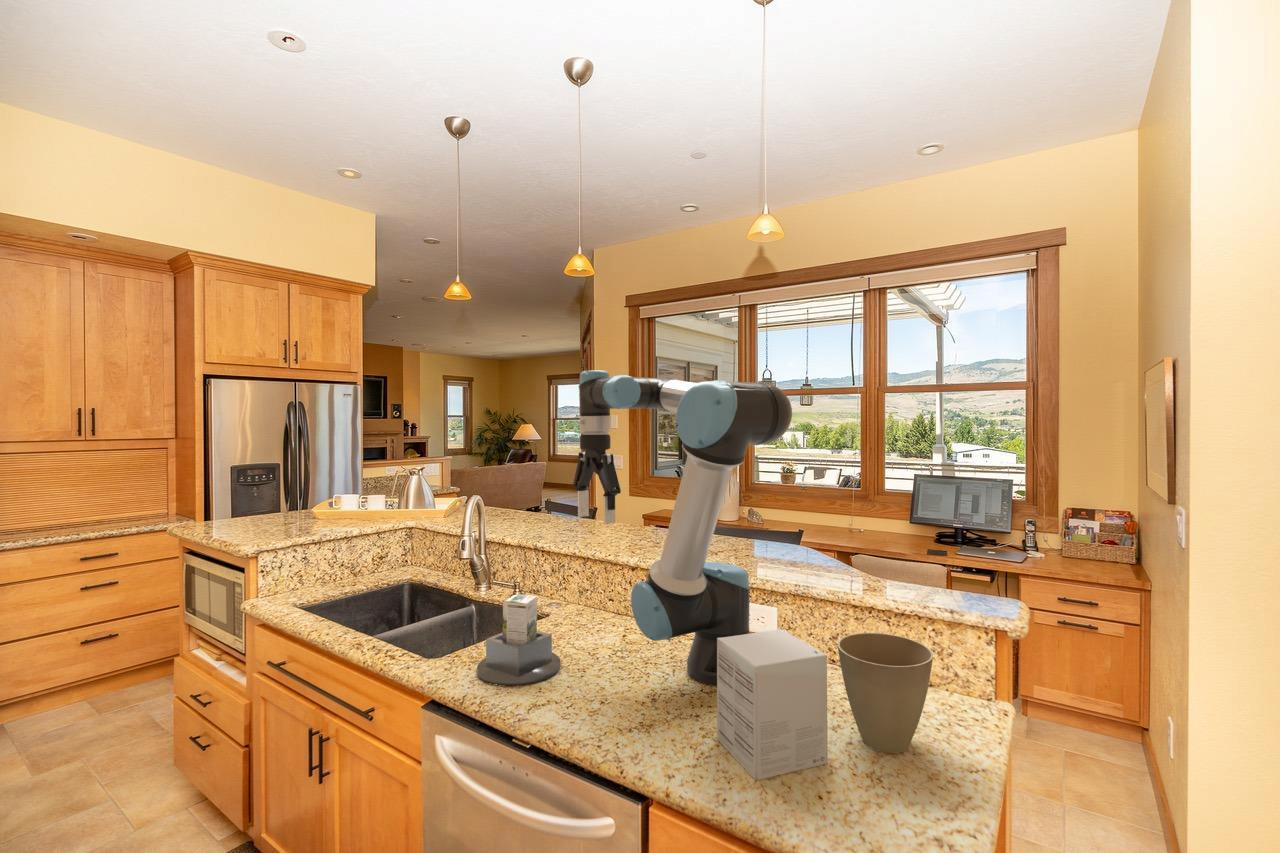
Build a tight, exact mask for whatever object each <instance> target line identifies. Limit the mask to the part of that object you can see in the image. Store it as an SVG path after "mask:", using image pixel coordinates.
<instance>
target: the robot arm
mask: <svg viewBox="0 0 1280 853" xmlns="http://www.w3.org/2000/svg"><path fill="white" fill-rule="evenodd" d="M578 389H579V390H578V391H579V392H578V393H579V394H578V396H579V398H578V399H579V420H578V424H579V431H580V432H581V433H582V434H580V436H579V449H580V450H582V451H583V452H578V459H577V460H578V461H577V464H576V465H577V466H576V470H575V473H574V474H575V475H574V479H573V482H572V486H573V488H576V491H577V517H579V518H580V517H590V504H589V503H590V502H589V501H590V500H589V499H590V498H589V496H590V493H589V491H590V488H589V484H590V482H591V479H592V477H593V474H594V473H595V474H596V475H597V476H598V479H599V481H600V484H601V486H602V489H603V492H604V494H602V496H603V525H604V524H605V525H609V524H616V496H617V495H619V494H621V491H622V490H621V487H620V486H621V485H620V481H619V478H618V474H617V470H616V466H615V461H614V459H615V458H614V454H613V453H607V452H606V450H610V449H611V435H610V434H609V433H610V432H611V410H613V409H614V410H615V409H616V410H617V409H622V410H624V409H625V410H626V409H627V410H628V409H629V410H632V409H635V410H636V409H637V410H638V409H643V410H646V409H648V410H649V409H651V410H653V409H654V410H663V411H668V412H673V413H675V423H676V424H677V426H676V433H677V435H678V437H679V439H680V441H682V443H681V448H682V450H683V451H684V453H685V454H686V455H687V456H686V461H685V465H684V469H683V471H682V472H683V473H682V476H681V480H680V484H679V487H678V491H677V495H676V499H675V502H674V506H673V511H672V514H671V517H670V518H671V519H670V521H669V526H668V529H667V533H666V537H665V541H664V544H663V548H662V552H661V556H660V559H658V560H655V561H654V562H652V564H651V566H650V568H649V572H648V575H647V579H646V581H645V580H644V581H643V580H640V581H639V582H638V583H635V584H634V585H633V587H632V589H631V593H630V606H631V610H632V615H633V617H634V621H635V623H636V625H637V627H638V629H639V630H640V631H641V633H642V634H643V635H644V636H645V637H646V638H647V639H649V640H650V641H655V642H656V641H657V642H658V641H663V640H668V641H669V640H671V639H673V638H677V637H681V636H685V635H688V634H693V633H694V636H693V640H692V644H691V647H690V648H689V649H690V650H689V652H688V656H687V660H686V672H687V675H689V677H690V678H692V679H693V680H695V681H696V682H699V683H702V684H704V685H705V684H706V685H709V686H716V687H717V638H722V637H730V636H737V635H744V634H750V593H751V592H750V591H751V587H750V580H749V578H750V577H749V574H748V571H747V570H746V569H745V568H743V567H741V566H737V565H735V564H730V563H729V564H728V563H723V562H716V561H706V560H707V556H708V553H709V550H710V547H711V543H712V540H713V536H714V533H715V530H716V528H717V526H716V525H717V523H718V520H719V516H720V512H721V509H722V506H723V503H724V499H725V495H726V492H727V488H728V485H729V482H730V479H731V475H732V472H733V469H735V468H736V467H739V466H741V465H742V464H743V463H744V461H745V457H746V455H747V452H748V447H749V446H760V445H761V446H762V445H768V444H771V443H773V442H775V441H777V440H779V439H780V438H781V437H782V436H784V434H785V433H786V432H787V430H788V429H789V427H790V425H791V422H792V418H793V409H792V408H793V407H792V405H791V404H792V403H791V402H790V399H789V397H788V395H786V393H785V392H784V391H783V390H782V389H780V388H779V387H777V386H776V385H774V384H773V385H772V384H771V383H767V382H748V381H746V382H745V381H725V380H722V379H720V380H719V379H716V380H711V381H709V380H708V381H700V382H692V381H687V380H686V381H685V380H681V379H677V378H673V377H664V378H663V377H643V376H642V377H640V376H637V377H636V376H630V375H627V374H626V375H625V374H622V375H621V374H618V375H616V374H615V375H614V376H611V375H610V372H608V371H606V370H600V369H599V370H597V369H596V370H592V369H591V370H584V371H581V373H580V374H579V384H578ZM580 432H579V433H580Z"/></svg>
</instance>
